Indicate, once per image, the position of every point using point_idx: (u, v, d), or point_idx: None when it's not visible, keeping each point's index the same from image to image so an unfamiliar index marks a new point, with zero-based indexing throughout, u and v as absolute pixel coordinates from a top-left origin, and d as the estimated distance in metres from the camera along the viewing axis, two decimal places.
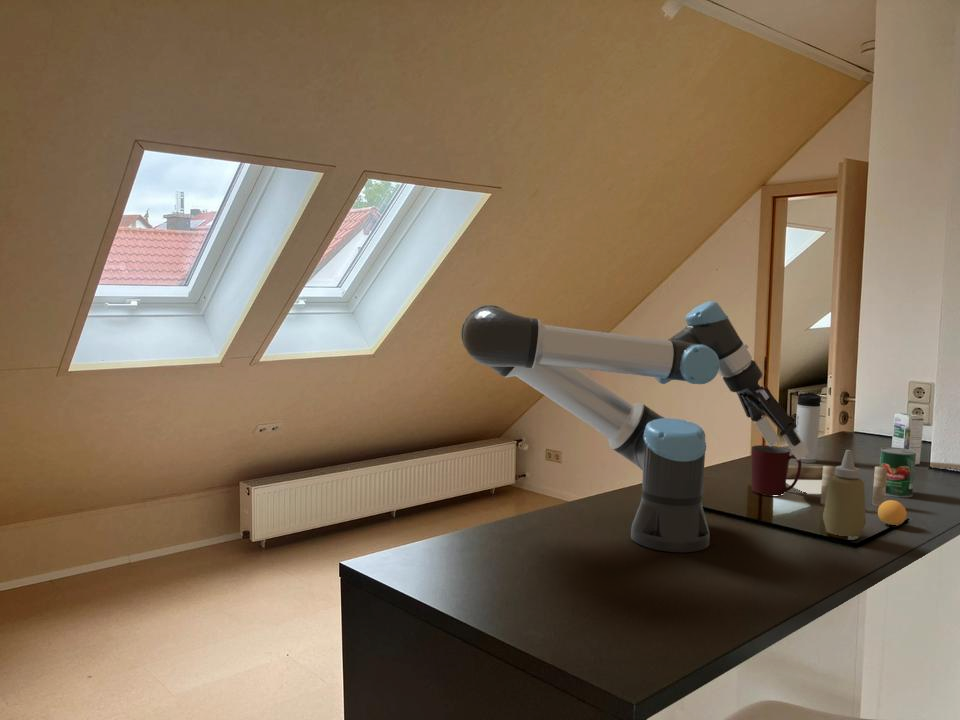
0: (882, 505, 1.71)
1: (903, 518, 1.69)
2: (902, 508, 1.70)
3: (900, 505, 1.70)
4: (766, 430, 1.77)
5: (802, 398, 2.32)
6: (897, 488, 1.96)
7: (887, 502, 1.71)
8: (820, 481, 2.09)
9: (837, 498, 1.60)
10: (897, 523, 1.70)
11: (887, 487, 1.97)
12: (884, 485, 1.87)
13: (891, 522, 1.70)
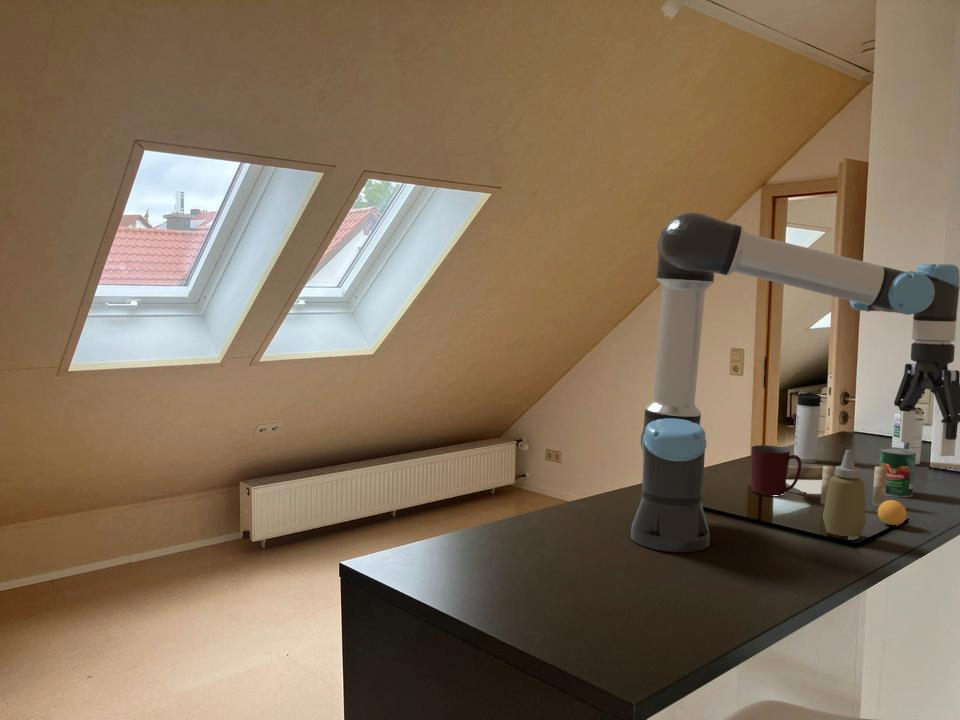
0: (882, 505, 1.71)
1: (903, 518, 1.69)
2: (902, 508, 1.70)
3: (900, 505, 1.70)
4: (907, 425, 1.66)
5: (802, 398, 2.32)
6: (897, 488, 1.96)
7: (887, 502, 1.71)
8: (820, 481, 2.09)
9: (837, 498, 1.60)
10: (897, 523, 1.70)
11: (887, 487, 1.97)
12: (884, 485, 1.87)
13: (891, 522, 1.70)
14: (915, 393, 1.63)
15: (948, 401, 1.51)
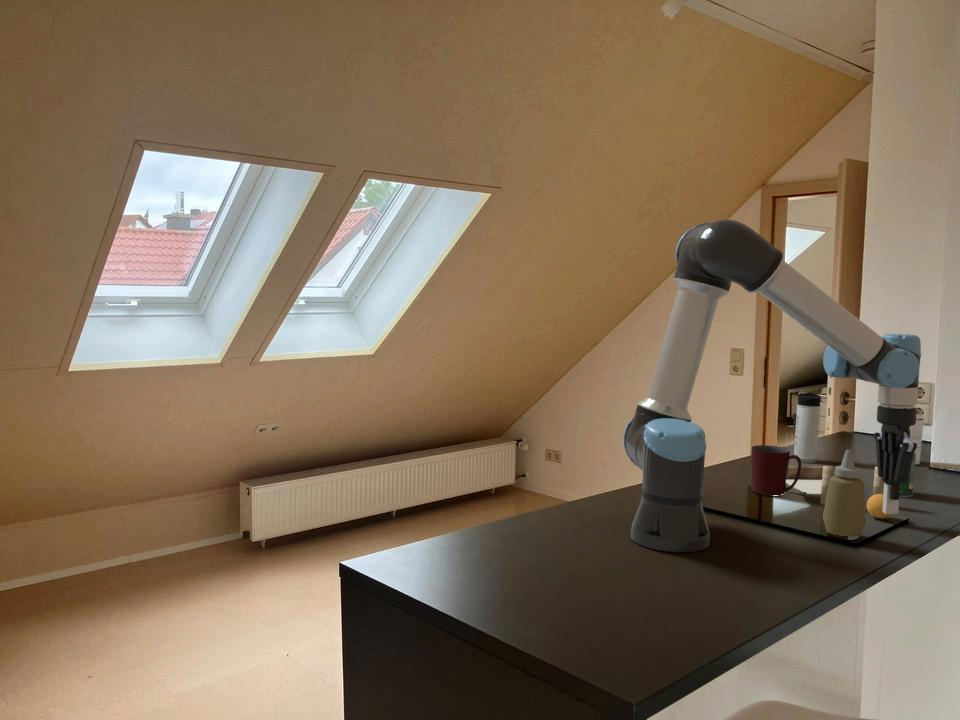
0: None
1: None
2: None
3: None
4: None
5: (802, 398, 2.32)
6: None
7: None
8: (820, 481, 2.09)
9: (837, 498, 1.60)
10: None
11: None
12: None
13: (881, 503, 1.74)
14: (890, 457, 1.73)
15: (897, 466, 1.69)
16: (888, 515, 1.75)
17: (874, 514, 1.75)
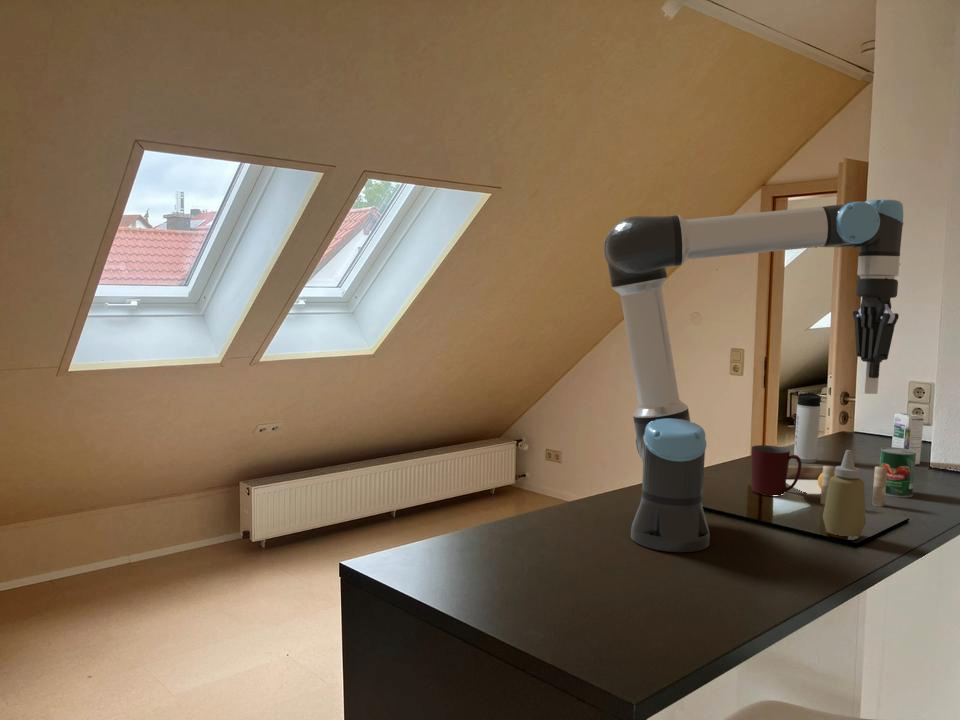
0: (819, 486, 1.99)
1: None
2: None
3: None
4: None
5: (802, 398, 2.32)
6: (897, 488, 1.96)
7: None
8: None
9: (837, 498, 1.60)
10: None
11: (887, 487, 1.97)
12: (884, 485, 1.87)
13: None
14: (869, 334, 1.63)
15: (877, 340, 1.59)
16: None
17: None
